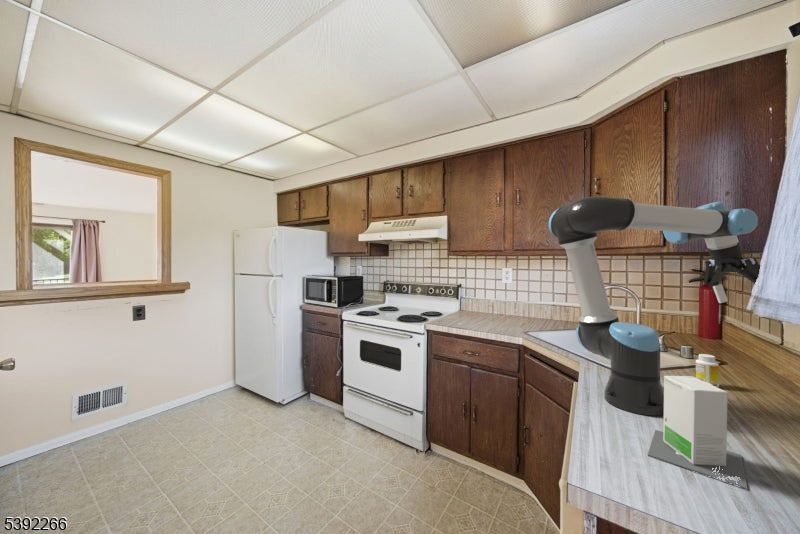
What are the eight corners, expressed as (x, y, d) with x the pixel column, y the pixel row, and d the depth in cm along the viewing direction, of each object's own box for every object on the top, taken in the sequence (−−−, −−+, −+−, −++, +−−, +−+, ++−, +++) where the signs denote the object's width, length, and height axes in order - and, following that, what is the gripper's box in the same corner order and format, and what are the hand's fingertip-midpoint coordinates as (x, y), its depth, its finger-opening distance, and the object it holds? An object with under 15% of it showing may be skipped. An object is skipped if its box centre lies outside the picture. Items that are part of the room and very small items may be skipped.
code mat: (647, 455, 64) (647, 454, 64) (655, 430, 73) (655, 429, 73) (747, 490, 53) (747, 488, 53) (741, 456, 63) (741, 454, 63)
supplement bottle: (720, 385, 101) (719, 355, 101) (718, 389, 97) (718, 358, 97) (697, 380, 105) (696, 352, 105) (695, 384, 102) (694, 355, 102)
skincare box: (662, 442, 68) (660, 374, 68) (693, 443, 67) (692, 375, 67) (694, 466, 60) (693, 389, 60) (731, 468, 59) (728, 390, 59)
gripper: (780, 238, 89) (804, 304, 89) (697, 245, 114) (716, 297, 114) (756, 246, 89) (781, 312, 89) (679, 252, 114) (698, 303, 114)
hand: (745, 304), depth 101 cm, fingers open, 13 cm apart
